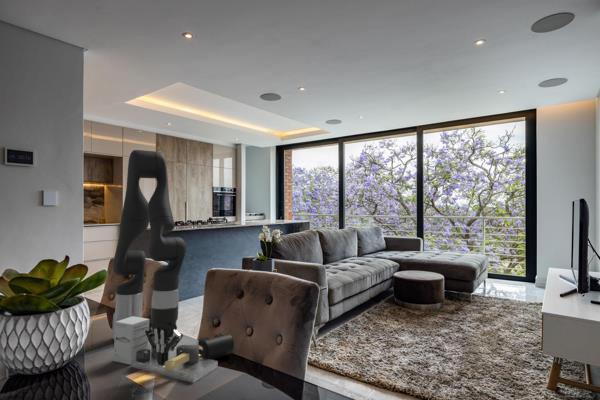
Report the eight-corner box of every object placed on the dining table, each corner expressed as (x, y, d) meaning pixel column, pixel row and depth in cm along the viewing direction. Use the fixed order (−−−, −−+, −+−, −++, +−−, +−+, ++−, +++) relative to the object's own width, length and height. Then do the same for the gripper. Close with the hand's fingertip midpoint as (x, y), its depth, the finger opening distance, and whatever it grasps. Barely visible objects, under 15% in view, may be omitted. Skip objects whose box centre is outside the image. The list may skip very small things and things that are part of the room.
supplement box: (112, 361, 107) (114, 321, 108) (131, 353, 114) (133, 315, 115) (130, 365, 105) (132, 324, 105) (148, 356, 111) (150, 318, 112)
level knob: (190, 356, 107) (190, 343, 107) (201, 359, 105) (202, 346, 105) (160, 372, 95) (160, 358, 95) (172, 375, 93) (172, 361, 94)
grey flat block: (131, 366, 104) (132, 336, 104) (161, 353, 115) (162, 325, 115) (193, 383, 94) (194, 349, 95) (219, 366, 105) (220, 336, 106)
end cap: (207, 365, 106) (208, 343, 107) (196, 358, 111) (197, 337, 111) (234, 356, 113) (234, 336, 114) (222, 350, 118) (223, 331, 119)
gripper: (138, 304, 99) (135, 365, 98) (173, 310, 94) (170, 374, 93) (158, 299, 106) (155, 355, 105) (191, 304, 101) (189, 363, 100)
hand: (162, 364), depth 99 cm, fingers closed
